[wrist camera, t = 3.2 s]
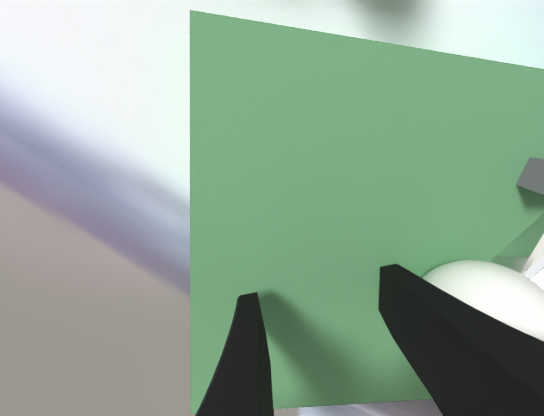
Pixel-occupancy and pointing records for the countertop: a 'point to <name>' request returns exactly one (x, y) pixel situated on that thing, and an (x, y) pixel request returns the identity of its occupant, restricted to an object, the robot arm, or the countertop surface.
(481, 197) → the mat
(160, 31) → the countertop surface
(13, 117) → the countertop surface
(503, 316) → the ball
